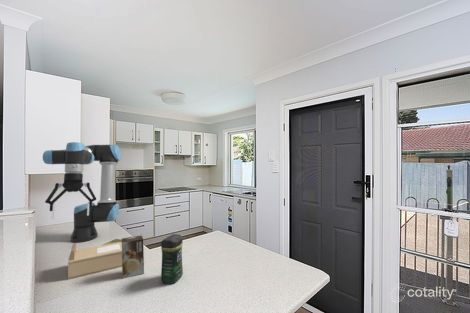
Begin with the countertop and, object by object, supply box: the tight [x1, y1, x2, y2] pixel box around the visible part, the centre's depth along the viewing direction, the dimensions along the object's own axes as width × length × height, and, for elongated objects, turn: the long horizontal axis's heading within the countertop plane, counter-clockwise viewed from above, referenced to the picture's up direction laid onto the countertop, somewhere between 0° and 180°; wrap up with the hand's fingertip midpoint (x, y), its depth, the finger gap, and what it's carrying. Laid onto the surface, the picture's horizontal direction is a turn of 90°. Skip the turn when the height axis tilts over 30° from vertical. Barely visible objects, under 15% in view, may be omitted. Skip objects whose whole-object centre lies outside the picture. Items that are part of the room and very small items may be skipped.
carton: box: [102, 238, 122, 245], centre depth 131 cm, size 8×16×4 cm, turn 166°
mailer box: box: [67, 252, 122, 281], centre depth 111 cm, size 14×26×7 cm, turn 122°
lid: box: [67, 242, 122, 264], centre depth 111 cm, size 14×26×5 cm, turn 122°
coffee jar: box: [160, 233, 184, 284], centre depth 98 cm, size 10×8×19 cm
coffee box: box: [121, 234, 145, 279], centre depth 103 cm, size 9×6×16 cm
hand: (71, 216), depth 109 cm, fingers open, 13 cm apart
